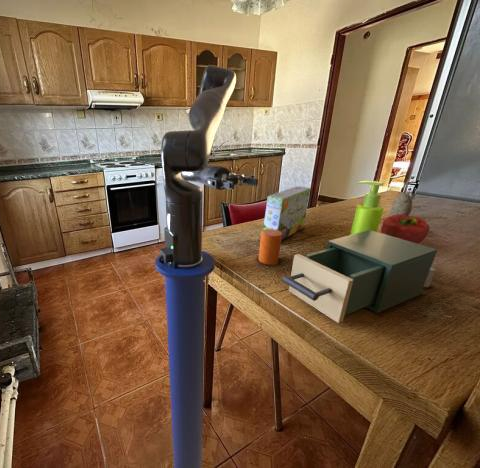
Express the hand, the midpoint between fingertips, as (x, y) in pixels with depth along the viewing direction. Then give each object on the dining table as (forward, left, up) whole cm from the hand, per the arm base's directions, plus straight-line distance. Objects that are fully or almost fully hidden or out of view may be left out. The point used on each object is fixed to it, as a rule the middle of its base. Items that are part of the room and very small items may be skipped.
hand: (245, 184), depth 75 cm
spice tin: (0, -12, -19) cm, 23 cm away
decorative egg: (+69, -7, -20) cm, 72 cm away
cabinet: (+10, -32, -19) cm, 39 cm away
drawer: (-3, -32, -18) cm, 37 cm away
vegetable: (+41, -22, -20) cm, 51 cm away
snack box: (+19, +1, -20) cm, 27 cm away
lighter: (+23, -34, -20) cm, 46 cm away
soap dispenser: (+28, -18, -20) cm, 39 cm away
